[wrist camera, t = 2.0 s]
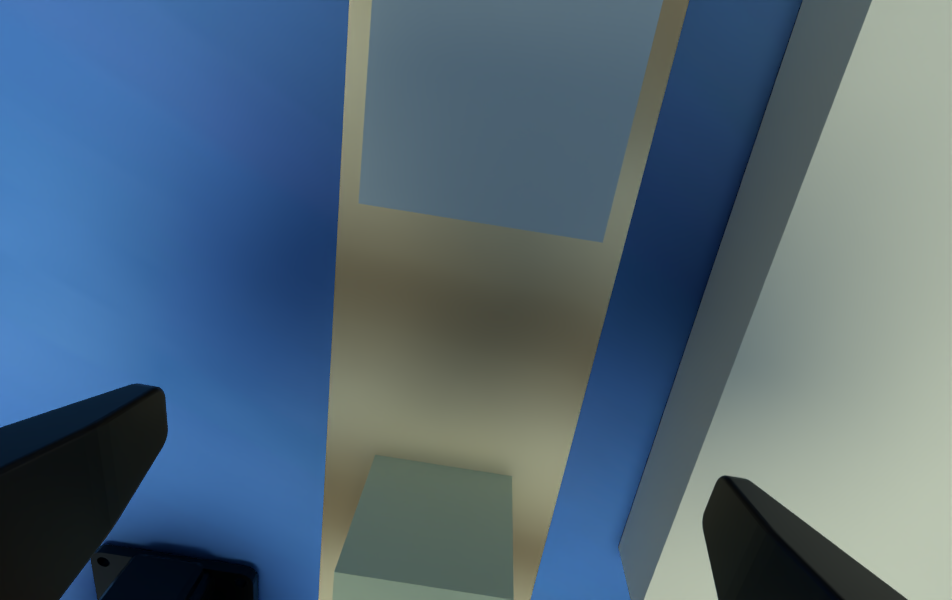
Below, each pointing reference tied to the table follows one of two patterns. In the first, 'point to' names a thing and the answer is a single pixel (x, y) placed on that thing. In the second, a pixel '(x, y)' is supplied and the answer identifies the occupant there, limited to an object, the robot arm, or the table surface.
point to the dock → (825, 316)
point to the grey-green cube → (428, 535)
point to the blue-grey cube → (503, 109)
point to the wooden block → (467, 329)
